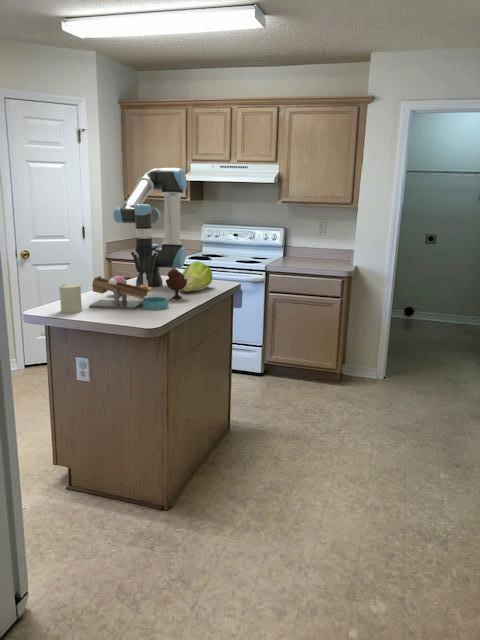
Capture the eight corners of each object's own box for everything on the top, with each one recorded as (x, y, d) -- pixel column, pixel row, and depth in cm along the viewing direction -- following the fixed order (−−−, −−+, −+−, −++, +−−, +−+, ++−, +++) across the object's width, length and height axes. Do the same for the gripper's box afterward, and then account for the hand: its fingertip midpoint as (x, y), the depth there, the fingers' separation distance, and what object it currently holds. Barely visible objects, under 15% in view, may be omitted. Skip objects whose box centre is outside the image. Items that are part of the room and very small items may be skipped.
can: (66, 308, 235) (64, 282, 232) (85, 308, 234) (83, 283, 231) (57, 312, 226) (55, 286, 223) (77, 313, 225) (75, 286, 222)
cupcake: (129, 295, 264) (128, 276, 261) (112, 297, 260) (111, 277, 257) (124, 292, 271) (123, 273, 269) (108, 293, 268) (107, 274, 265)
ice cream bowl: (184, 301, 252) (183, 271, 248) (162, 300, 254) (161, 270, 250) (190, 297, 262) (190, 267, 258) (169, 295, 264) (169, 267, 260)
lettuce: (202, 303, 271) (176, 304, 276) (217, 280, 289) (193, 281, 295) (194, 278, 263) (168, 280, 269) (211, 257, 282) (185, 259, 288)
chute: (105, 285, 254) (107, 272, 252) (151, 296, 252) (153, 283, 250) (91, 291, 237) (93, 278, 236) (140, 303, 236) (143, 290, 234)
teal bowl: (147, 303, 246) (147, 296, 245) (170, 304, 244) (170, 297, 243) (139, 309, 235) (139, 301, 234) (164, 310, 233) (164, 302, 232)
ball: (115, 276, 240) (119, 283, 241) (108, 280, 241) (112, 287, 242) (112, 277, 236) (116, 285, 237) (105, 281, 237) (109, 289, 238)
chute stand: (100, 301, 249) (98, 282, 247) (143, 303, 247) (142, 283, 244) (89, 307, 237) (87, 287, 234) (135, 309, 234) (134, 289, 232)
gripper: (128, 237, 240) (130, 287, 246) (155, 238, 238) (156, 288, 244) (133, 236, 247) (135, 284, 253) (159, 237, 245) (160, 285, 251)
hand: (145, 286), depth 248 cm, fingers closed
